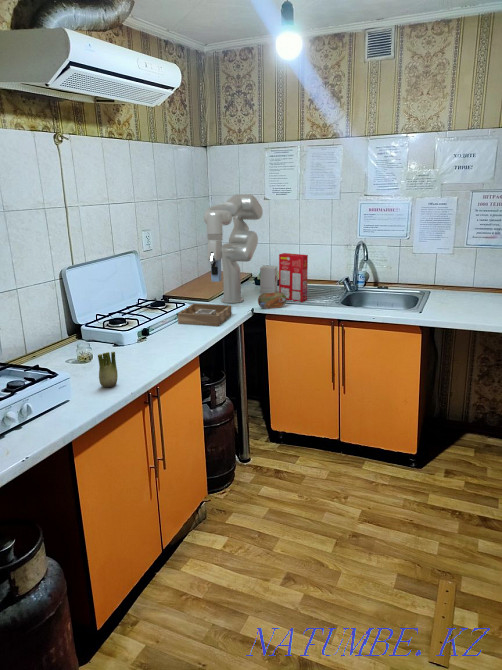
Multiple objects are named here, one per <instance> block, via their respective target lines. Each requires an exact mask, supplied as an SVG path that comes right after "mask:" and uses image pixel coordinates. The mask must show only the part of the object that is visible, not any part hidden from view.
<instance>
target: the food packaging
mask: <svg viewBox="0 0 502 670" xmlns="http://www.w3.org/2000/svg"><path fill="white" fill-rule="evenodd" d="M308 259H309V256H308V254H301V253H299V254H298V253H287V252H283V253H280V254H278V292H282V293H283V294H285V296H286V301H289V300H293V301H292V302H296V301H301V302H300V303H304V302H306V301H305V300H307V301H308V268H309V267H308V261H309V260H308ZM303 301H304V302H303Z"/></svg>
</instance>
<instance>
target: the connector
mask: <svg viewBox="0 0 502 670" xmlns="http://www.w3.org/2000/svg"><path fill="white" fill-rule="evenodd" d="M213 260H215V259H213ZM217 267H218V275H212V274H211V273H210V275H211V277H210V278H211V279H210V281H211V282H215V283H216V282H218V283H219V282H221V281H223V279H222V258H221V259H219V260H217Z"/></svg>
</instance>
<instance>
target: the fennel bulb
mask: <svg viewBox="0 0 502 670" xmlns="http://www.w3.org/2000/svg"><path fill="white" fill-rule="evenodd" d="M97 359H98V364H99V365H98V366H99V367H98V368H99V370H98V379H99V380H98V381H99V384H100V386H101V387H103V388H112V387H115V386H116V385H117V383H118V368H117V361H116V351H111V352H110V351H107V352H103V353H99V354H97Z"/></svg>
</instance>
